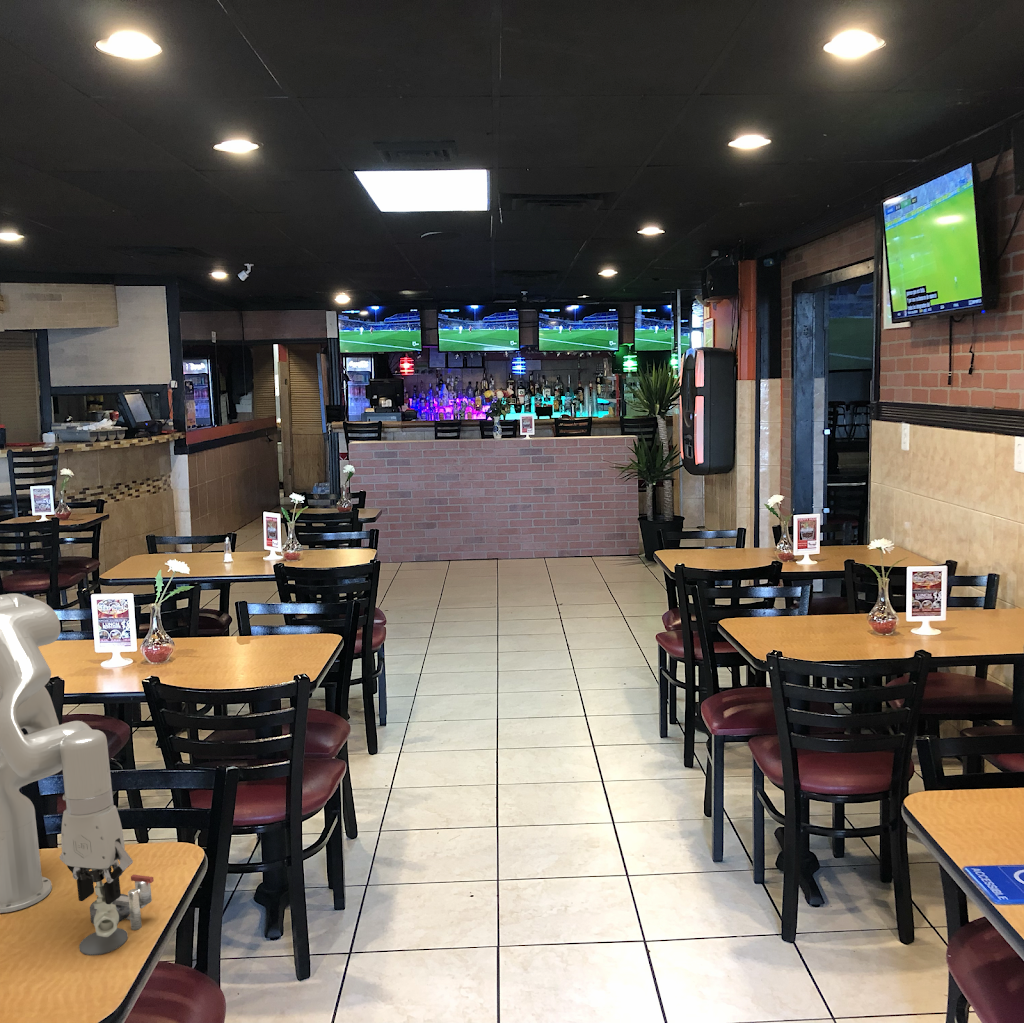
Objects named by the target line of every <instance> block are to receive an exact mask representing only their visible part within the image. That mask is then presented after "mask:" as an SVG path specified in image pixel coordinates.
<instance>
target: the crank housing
mask: <svg viewBox="0 0 1024 1023" xmlns="http://www.w3.org/2000/svg"><path fill="white" fill-rule="evenodd" d="M120 896H126V897H128V900H129V907H128V906H121V905H116V909H117V912H118V914H119V922H118V923H120V922H122V921H124V920H129V922H130V930H131V931H135V930H140V929H141V928H142V914H141V908H140V903H139V892H138V889H135V888H132V889H130V890H128V891H127V894H125V893H121V895H120ZM96 910H97V909H95V908H94V901H93V902H92V903H91V904H90V906H89V914H90V922H91V924H92V925H94V917H95V915H96ZM106 920H108V919H106Z"/></svg>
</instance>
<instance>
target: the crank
mask: <svg viewBox="0 0 1024 1023" xmlns="http://www.w3.org/2000/svg"><path fill="white" fill-rule="evenodd" d="M130 881H132V882H134V887H135V888H134V889H138V892H139V903H140V909H143V908H145V907H146V906H147V905H148V904H150V903H151V902H152V901H153V899H152V898H153V897H152V888H151V884H152V883H153V882H154V876H150V875H149V876H148V875H141V874H140V875H139V874H132V875H131V876H130ZM112 904H114V905H121V906H128V907H129V900H128V897H126V896H120V897H119V898H118V899H116V900H115V901H114V902H112Z"/></svg>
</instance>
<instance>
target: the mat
mask: <svg viewBox="0 0 1024 1023" xmlns="http://www.w3.org/2000/svg"><path fill="white" fill-rule="evenodd" d="M128 939H129V935H128V932H127V931H126V930H125V929H123V928H120V927H117V929H116V930H115V931H114V932H113V933H112V934H111V935H110V936H109V937H102V936H98V935H97V934H96V931H95V932H93V933H90V934H89V935H87V936H86V937H84V938H83V939H82V940H81V942H80V943H79V945H78V946H79V947H78V950H79V952H81V954H83V955H86V956H101V955H104V954H108V953H111V952H113V951H116V950H117V949H119V948H120V947H122V946H123V945H124V944H125V943H126V942H127V941H128Z"/></svg>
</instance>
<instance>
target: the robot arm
mask: <svg viewBox="0 0 1024 1023" xmlns="http://www.w3.org/2000/svg"><path fill="white" fill-rule="evenodd" d="M60 634H61V622H60V619H59V617H58V614H57V613H56V611H55V610H54V609H53V608H52V607H51V606H50V605H48V604H47V603H46V602H44V601H41V600H39V599H37V598H33V597H30V596H27V595H25V594H21V593H13V592H12V593H7V594H6V593H5V594H0V914H4V913H5V914H6V913H12V912H15V911H21V910H23V909H26V908H29V907H31V906H34V905H35V904H37V903H39V902H41V901H42V900H43V899H45V898H46V897H47V896H48V895H49V894H50V893H51V891H52V889H53V887H52V886H53V885H52V881H51V879H49V878H47V877H45V876H43V875H42V865H41V857H40V856H41V855H40V847H39V846H40V845H39V837H38V836H39V835H38V829H37V820H36V809H35V805H34V804H33V802H32V801H31V799H30V798H29V797H28V796H26V795H24V794H22V793H21V792H20V789H21V788H22V787H25V786H27V785H28V784H32V783H33V782H37V781H40V780H43V779H45V778H49V777H51V776H54V775H56V774H58V773H60V772H61V771H62V776H63V787H64V788H63V789H64V793H63V794H62V800H63V801H64V802H65V806H66V807H65V808H66V809H64V811H63V814H62V819H61V834H60V835H61V840H60V841H61V843H60V844H61V854H60V855H59V860H60V861H61V862H62V863H63V864H65V865H66V867H67V869H68V870H69V871H70V872H71V873H72V878H73V880H76V888H77V895H78V896H77V897H78V901H79V902H84V901H85V900H86V899H87V898H89V897H90V896H92V895H93V894H95V886H94V882H93V881H92V879H89V878H87V879H85V880H81V876H80V877H79V878H77V876H76V871H78V870H82V868H88V869H90V870H91V869H99V870H103V873H104V877H105V878H104V879H105V882H103V883H104V893H105V902H106V904H111V903H112V902H114V901H115V900H116V899H118V898H119V897H120V895H121V894H122V893H121V885H120V877H122V875H123V873H124V872H125V870H127V868H128V867H130V866H131V865H132V864H133V863H134V862H133V861H134V860H133V859H132V857H131V856H130V855H129V853H128V852H127V850H125V848H126V846H125V839H124V837H125V836H124V834H123V833H124V832H123V827H122V822H121V818H120V815H119V812H118V808H117V806H116V805H114V798H113V797H114V795H113V787H112V777H111V768H110V760H109V759H110V757H109V756H110V755H109V747H108V740H107V736H106V734H105V733H104V731H101V730H99V729H92V728H91V726H89V724H87V723H86V722H85V721H81V720H73V721H69V722H65V723H62V724H59V719H58V717H57V713H56V709H55V707H54V703H53V701H52V697H51V695H50V693H49V691H48V690H47V688H46V687H45V686H46V685H47V684H48V683H49V682H50V679H51V676H52V670H51V668H50V666H49V664H48V662H47V661H46V659H45V657H44V655H43V654H42V652H41V650H40V648H39V647H42V646H47V645H50V644H53V643H54V642H56V641H57V640H58V638H59V637H60ZM23 729H25V730H26V732H27V733H26V734H24V732H23V731H22V730H23ZM113 864H114V867H113ZM110 866H111V869H112V871H111V870H110V868H109V867H110ZM105 869H106V871H105ZM106 872H107V873H106Z"/></svg>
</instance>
